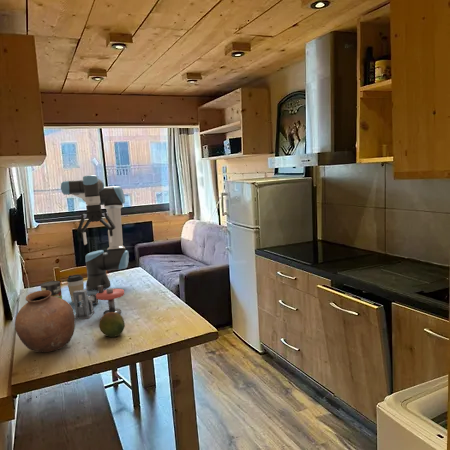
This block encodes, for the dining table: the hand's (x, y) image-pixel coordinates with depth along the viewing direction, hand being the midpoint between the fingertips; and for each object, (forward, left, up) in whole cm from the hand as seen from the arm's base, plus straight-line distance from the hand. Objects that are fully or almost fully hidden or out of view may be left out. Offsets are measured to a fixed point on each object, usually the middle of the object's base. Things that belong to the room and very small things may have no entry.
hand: (98, 243), depth 221 cm
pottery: (+54, -8, -35) cm, 65 cm away
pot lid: (+15, +8, -25) cm, 30 cm away
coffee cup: (-12, -20, -35) cm, 42 cm away
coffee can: (-2, -30, -35) cm, 46 cm away
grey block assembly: (+14, -7, -35) cm, 38 cm away
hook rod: (+5, -7, -32) cm, 33 cm away
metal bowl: (+15, +8, -35) cm, 39 cm away
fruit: (+44, +17, -35) cm, 59 cm away
